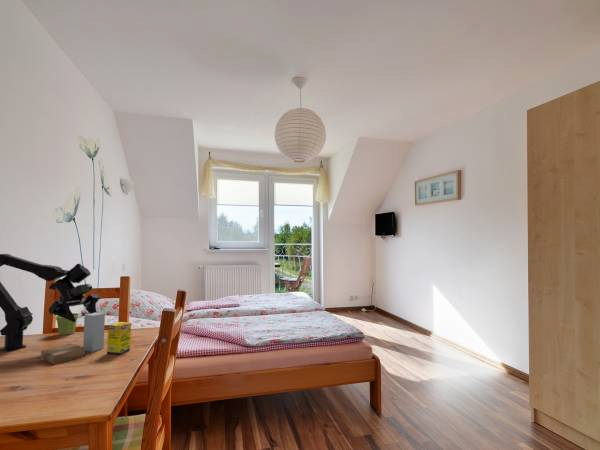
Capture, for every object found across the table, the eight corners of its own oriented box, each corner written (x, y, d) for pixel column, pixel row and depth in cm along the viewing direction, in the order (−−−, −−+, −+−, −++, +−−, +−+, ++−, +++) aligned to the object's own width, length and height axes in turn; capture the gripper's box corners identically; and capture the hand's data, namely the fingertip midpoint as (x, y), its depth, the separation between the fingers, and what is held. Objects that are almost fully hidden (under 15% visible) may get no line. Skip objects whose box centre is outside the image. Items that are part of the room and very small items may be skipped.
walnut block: (40, 359, 121) (41, 350, 121) (70, 351, 130) (70, 343, 130) (54, 364, 116) (55, 355, 117) (84, 355, 125) (85, 347, 125)
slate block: (83, 350, 131) (84, 314, 132) (94, 346, 136) (95, 312, 137) (92, 351, 130) (93, 315, 130) (103, 348, 134) (104, 313, 135)
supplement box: (119, 355, 126) (120, 325, 127) (106, 353, 127) (107, 325, 128) (130, 350, 132) (131, 322, 133) (117, 349, 133) (118, 321, 134)
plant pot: (49, 337, 150) (50, 317, 151) (60, 331, 160) (61, 313, 160) (72, 335, 152) (73, 316, 153) (82, 330, 161) (82, 312, 162)
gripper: (54, 279, 129) (74, 310, 125) (97, 275, 147) (116, 301, 143) (40, 299, 131) (58, 329, 127) (84, 292, 149) (101, 319, 145)
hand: (85, 318), depth 135 cm, fingers open, 9 cm apart
